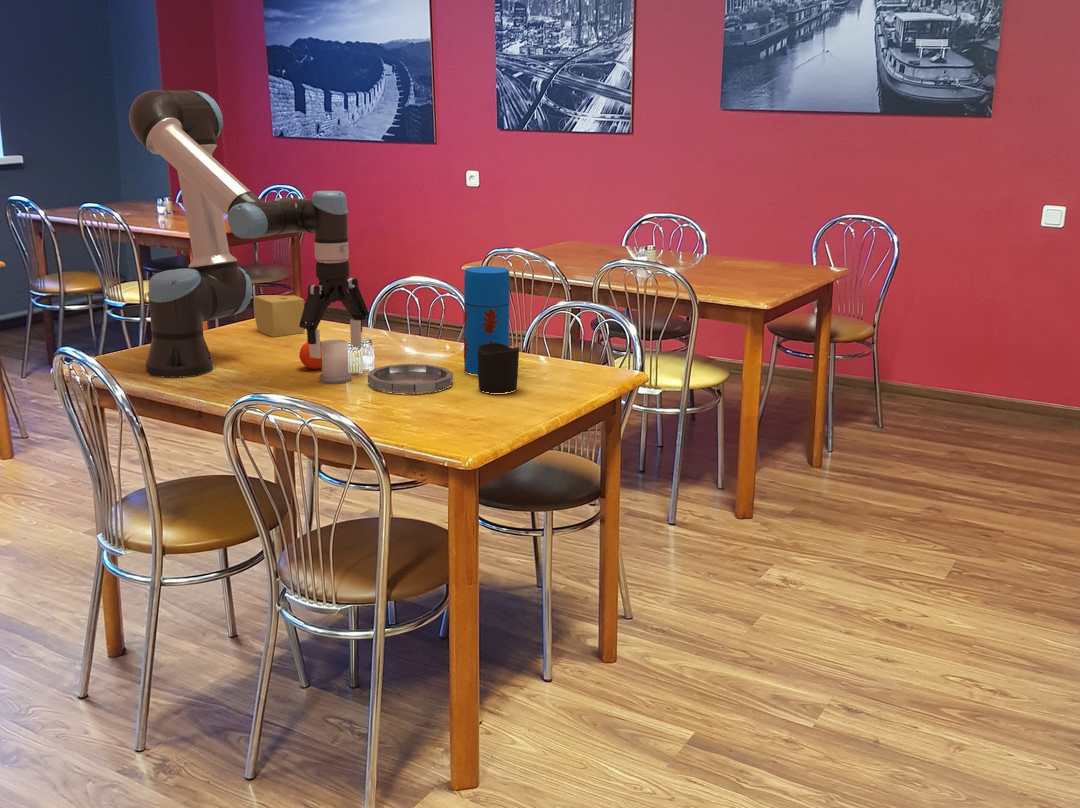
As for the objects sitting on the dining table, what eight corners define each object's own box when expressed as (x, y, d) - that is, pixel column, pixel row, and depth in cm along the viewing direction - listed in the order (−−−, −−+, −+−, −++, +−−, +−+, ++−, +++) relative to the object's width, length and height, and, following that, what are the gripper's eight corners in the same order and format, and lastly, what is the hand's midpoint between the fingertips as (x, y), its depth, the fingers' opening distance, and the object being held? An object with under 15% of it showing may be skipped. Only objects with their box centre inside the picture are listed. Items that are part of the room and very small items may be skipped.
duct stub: (336, 385, 252) (335, 347, 250) (313, 380, 256) (312, 342, 253) (357, 379, 258) (356, 341, 255) (335, 374, 262) (333, 337, 259)
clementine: (337, 367, 269) (337, 338, 267) (325, 373, 262) (324, 344, 260) (308, 364, 271) (307, 336, 269) (294, 370, 264) (293, 341, 262)
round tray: (416, 399, 242) (416, 388, 242) (352, 385, 252) (351, 375, 252) (468, 382, 258) (468, 372, 257) (405, 369, 268) (405, 360, 267)
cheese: (288, 327, 313) (287, 292, 310) (307, 333, 305) (305, 298, 302) (254, 331, 306) (253, 295, 303) (272, 338, 298) (270, 301, 295)
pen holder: (515, 384, 257) (516, 342, 254) (520, 395, 248) (521, 352, 245) (475, 385, 255) (475, 343, 252) (479, 396, 246) (479, 352, 244)
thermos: (468, 378, 261) (469, 273, 254) (459, 367, 271) (460, 266, 264) (513, 376, 264) (514, 272, 257) (502, 365, 274) (504, 265, 267)
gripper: (304, 268, 237) (309, 364, 243) (381, 255, 257) (384, 344, 263) (279, 265, 241) (285, 360, 247) (357, 253, 261) (360, 341, 267)
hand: (336, 352), depth 255 cm, fingers open, 13 cm apart
